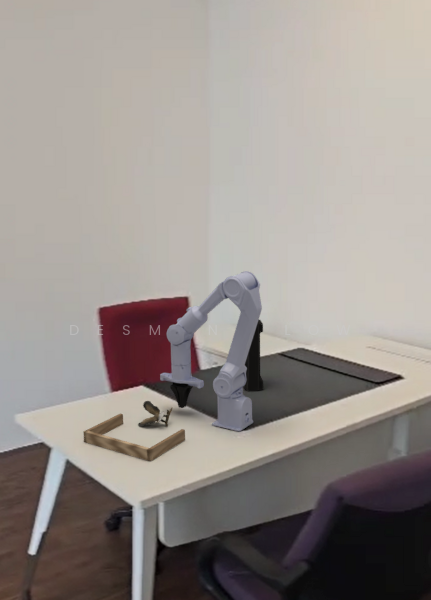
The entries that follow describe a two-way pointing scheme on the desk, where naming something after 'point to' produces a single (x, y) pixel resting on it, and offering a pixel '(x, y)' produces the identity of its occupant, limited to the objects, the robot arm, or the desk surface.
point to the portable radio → (254, 362)
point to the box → (149, 454)
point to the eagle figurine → (155, 412)
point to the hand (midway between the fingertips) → (182, 406)
